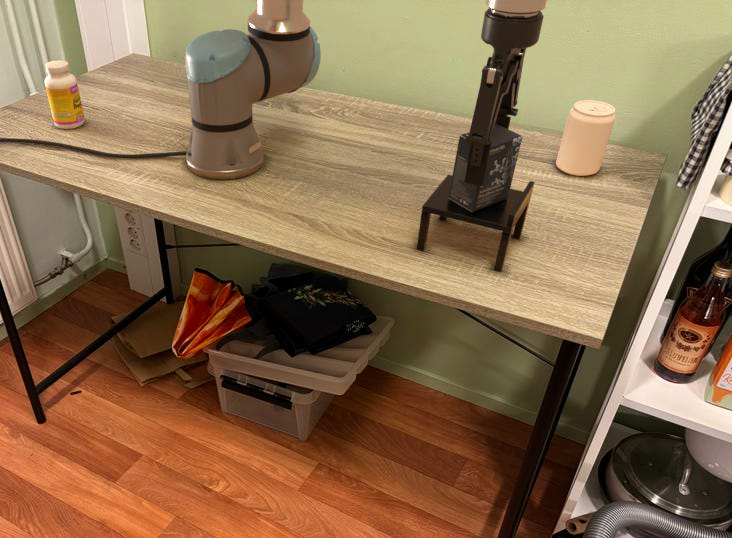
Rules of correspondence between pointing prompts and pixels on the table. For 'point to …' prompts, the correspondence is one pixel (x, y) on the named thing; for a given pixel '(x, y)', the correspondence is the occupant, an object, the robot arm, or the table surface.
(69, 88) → the supplement bottle
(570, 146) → the beverage can
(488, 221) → the small dark brown table
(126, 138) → the table surface
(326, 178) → the table surface
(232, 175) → the robot arm
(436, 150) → the table surface
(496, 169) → the box
